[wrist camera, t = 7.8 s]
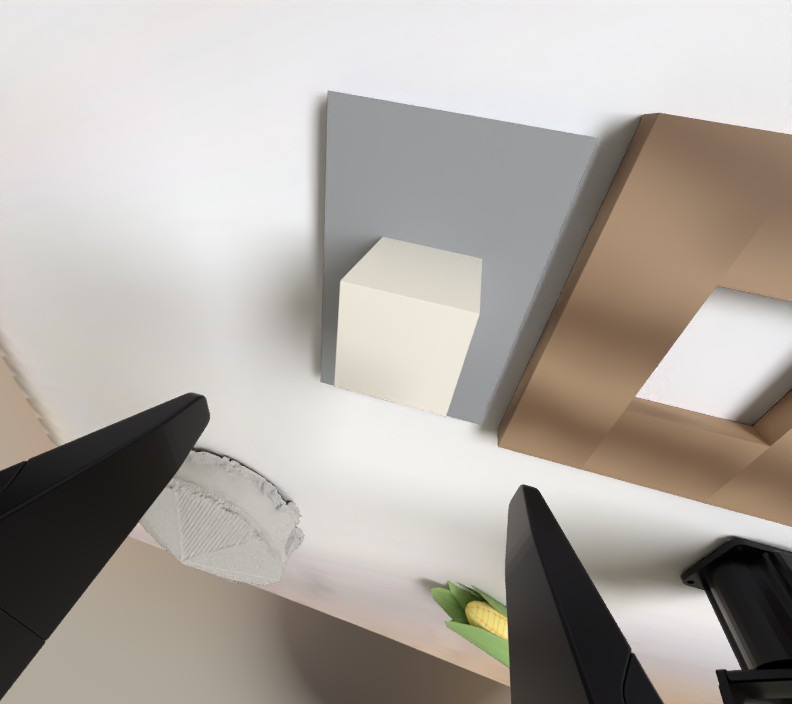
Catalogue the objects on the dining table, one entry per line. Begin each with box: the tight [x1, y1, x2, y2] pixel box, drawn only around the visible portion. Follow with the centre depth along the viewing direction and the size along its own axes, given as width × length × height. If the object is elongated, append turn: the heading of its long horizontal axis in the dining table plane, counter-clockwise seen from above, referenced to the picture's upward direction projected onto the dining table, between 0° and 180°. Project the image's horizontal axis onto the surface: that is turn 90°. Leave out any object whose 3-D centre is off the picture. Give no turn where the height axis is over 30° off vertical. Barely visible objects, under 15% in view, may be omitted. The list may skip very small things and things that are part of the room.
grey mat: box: [321, 91, 598, 424], centre depth 19 cm, size 16×11×1 cm
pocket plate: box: [498, 113, 792, 527], centre depth 17 cm, size 18×18×2 cm
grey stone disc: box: [139, 448, 304, 585], centre depth 36 cm, size 20×20×7 cm
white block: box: [334, 237, 482, 416], centre depth 16 cm, size 5×5×6 cm
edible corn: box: [430, 581, 510, 668], centre depth 36 cm, size 5×20×5 cm
